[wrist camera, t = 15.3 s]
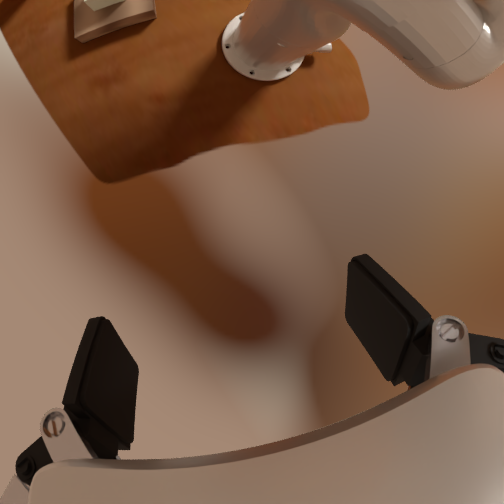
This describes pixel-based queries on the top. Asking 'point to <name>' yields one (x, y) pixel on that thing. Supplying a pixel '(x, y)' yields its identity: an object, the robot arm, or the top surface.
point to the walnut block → (109, 17)
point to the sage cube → (100, 3)
